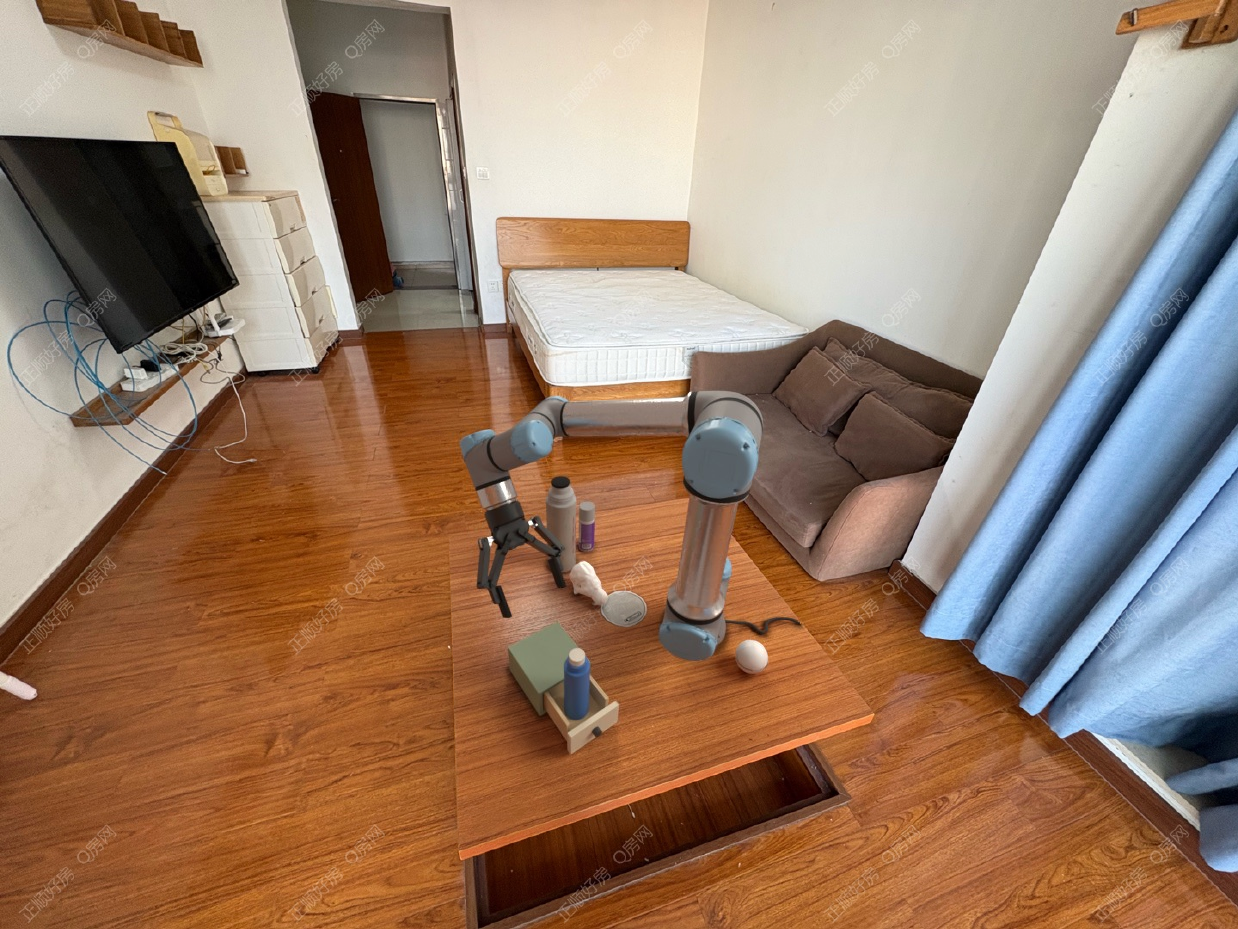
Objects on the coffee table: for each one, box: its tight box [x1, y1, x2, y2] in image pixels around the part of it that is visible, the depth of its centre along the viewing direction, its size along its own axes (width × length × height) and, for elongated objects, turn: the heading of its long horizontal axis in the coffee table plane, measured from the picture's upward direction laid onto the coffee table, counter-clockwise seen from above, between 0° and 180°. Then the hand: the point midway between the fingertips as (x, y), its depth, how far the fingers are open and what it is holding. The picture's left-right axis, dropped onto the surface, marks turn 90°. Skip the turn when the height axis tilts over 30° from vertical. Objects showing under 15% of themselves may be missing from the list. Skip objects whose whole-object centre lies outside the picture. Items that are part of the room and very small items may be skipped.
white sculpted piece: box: [568, 560, 609, 607], centre depth 131 cm, size 6×8×12 cm
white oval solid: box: [734, 639, 773, 675], centre depth 114 cm, size 10×7×7 cm
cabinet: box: [507, 621, 592, 717], centre depth 110 cm, size 14×13×8 cm
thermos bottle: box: [545, 475, 577, 573], centre depth 136 cm, size 8×8×28 cm
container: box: [577, 500, 596, 553], centre depth 146 cm, size 5×5×15 cm
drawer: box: [542, 675, 620, 755], centre depth 102 cm, size 14×11×6 cm
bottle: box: [564, 647, 591, 720], centre depth 99 cm, size 5×5×17 cm
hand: (536, 602), depth 104 cm, fingers open, 13 cm apart
